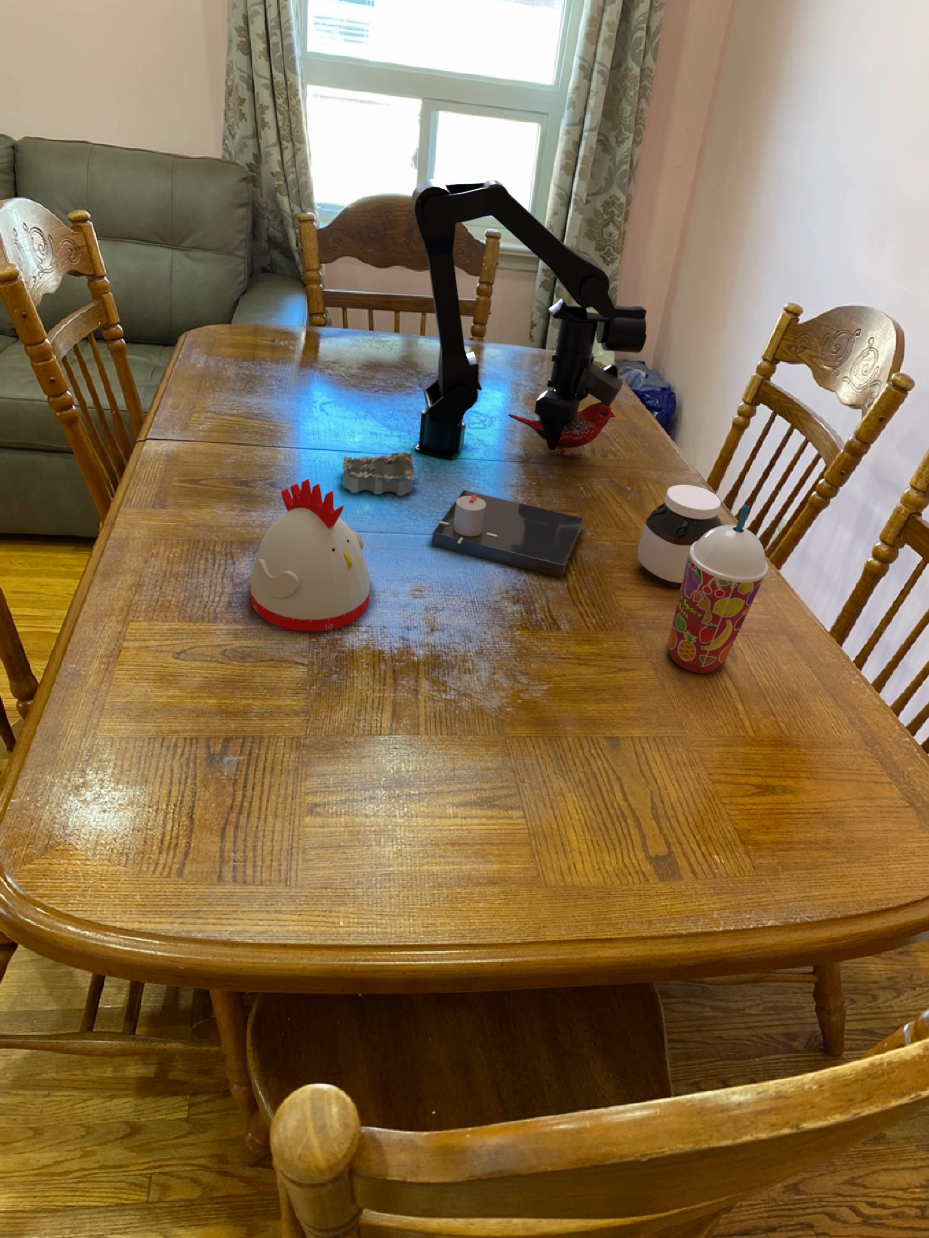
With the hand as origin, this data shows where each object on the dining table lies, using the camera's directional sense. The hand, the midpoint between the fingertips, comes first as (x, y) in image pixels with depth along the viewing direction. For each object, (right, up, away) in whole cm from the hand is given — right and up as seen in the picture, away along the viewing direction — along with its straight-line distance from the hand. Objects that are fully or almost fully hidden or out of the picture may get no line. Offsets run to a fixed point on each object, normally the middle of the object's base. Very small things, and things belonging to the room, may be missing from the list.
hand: (557, 441), depth 137 cm
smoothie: (+11, -35, -41) cm, 55 cm away
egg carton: (-28, -10, -14) cm, 33 cm away
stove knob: (-15, -18, -27) cm, 35 cm away
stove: (-9, -18, -23) cm, 31 cm away
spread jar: (+12, -23, -25) cm, 36 cm away
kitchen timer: (-34, -27, -40) cm, 59 cm away
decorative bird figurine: (0, -2, +2) cm, 3 cm away
